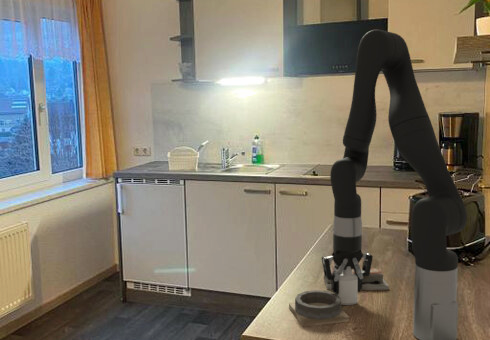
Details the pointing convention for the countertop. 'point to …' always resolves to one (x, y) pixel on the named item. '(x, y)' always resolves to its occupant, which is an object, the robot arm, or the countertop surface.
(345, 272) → the eye dropper bottle
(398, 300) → the countertop surface
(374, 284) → the packaged product
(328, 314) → the collar board
